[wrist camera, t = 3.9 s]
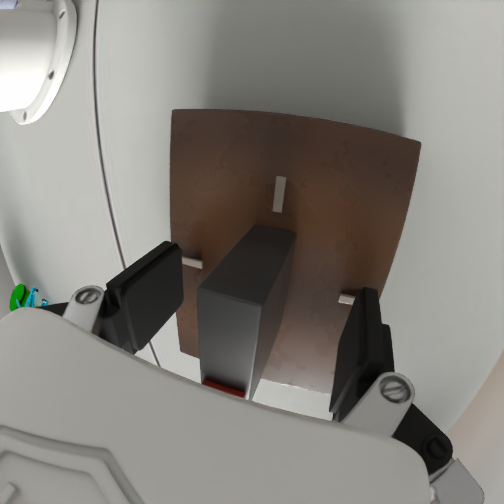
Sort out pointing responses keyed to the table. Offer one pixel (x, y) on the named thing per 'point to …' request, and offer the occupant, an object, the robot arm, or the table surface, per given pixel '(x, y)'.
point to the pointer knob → (243, 310)
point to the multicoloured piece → (23, 298)
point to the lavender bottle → (8, 4)
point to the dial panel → (290, 219)
